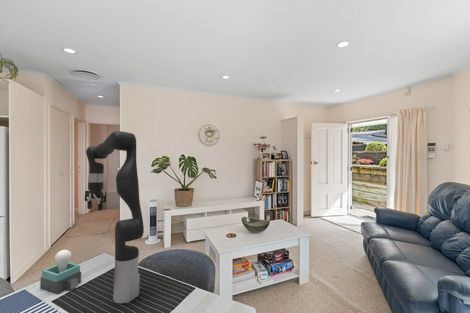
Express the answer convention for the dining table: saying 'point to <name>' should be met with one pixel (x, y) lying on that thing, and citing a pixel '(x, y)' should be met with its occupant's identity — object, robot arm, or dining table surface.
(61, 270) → the lightbulb
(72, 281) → the teal and grey box
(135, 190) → the robot arm
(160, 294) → the dining table surface
